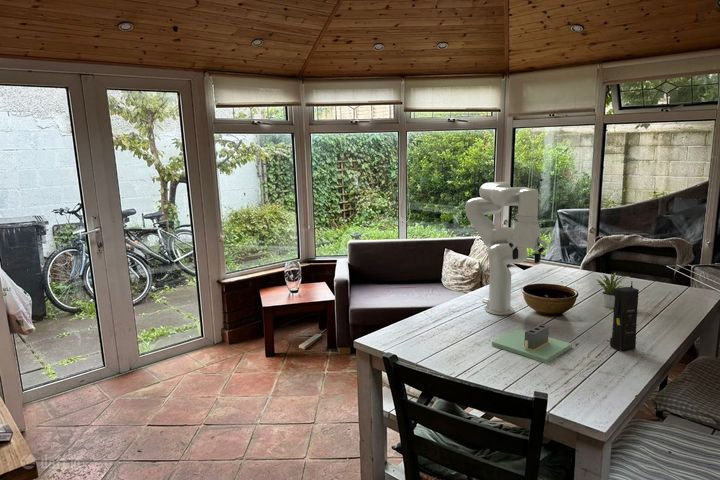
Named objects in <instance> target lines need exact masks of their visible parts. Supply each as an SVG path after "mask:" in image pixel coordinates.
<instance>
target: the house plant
mask: <svg viewBox="0 0 720 480" xmlns="http://www.w3.org/2000/svg"><path fill="white" fill-rule="evenodd" d="M600 274H602V276H603V277H604V278H602V277H601V276H599V278H601V280H602V281H603V282H602V281H601V280H600V279H597V278H594V279H595V280H596V282H597V283H598V284H596V286H600V287H601V288H603V291H601V300H602V306H603V307H605V308H608V309H614V303H615V296H614V295H613V294H614V288H621V287H624V286H623V285H619V284H620V283H622V282H624V280H625V279H626V278H629V277H631V276H630V275H629V276H628V275H627V276H623V277H621V278H620V279H619V277H620V275H619V276H617V277H616V275H617V273H616V272H613V274H612V273H610V278H609V276H608V275H606V273H603V272H600ZM614 280H615V281H614Z"/></svg>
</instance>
